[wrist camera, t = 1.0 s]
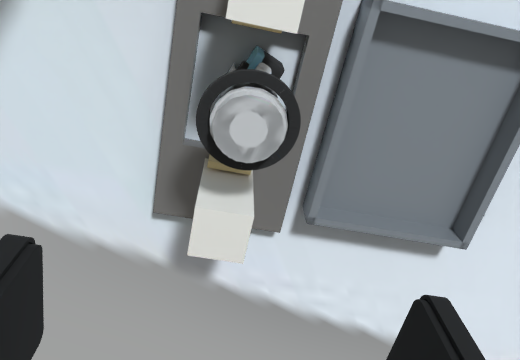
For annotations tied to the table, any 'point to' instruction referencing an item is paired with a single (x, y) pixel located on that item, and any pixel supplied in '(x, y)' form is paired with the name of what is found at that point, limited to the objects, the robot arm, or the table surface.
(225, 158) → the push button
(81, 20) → the table surface
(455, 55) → the tray
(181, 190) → the block
